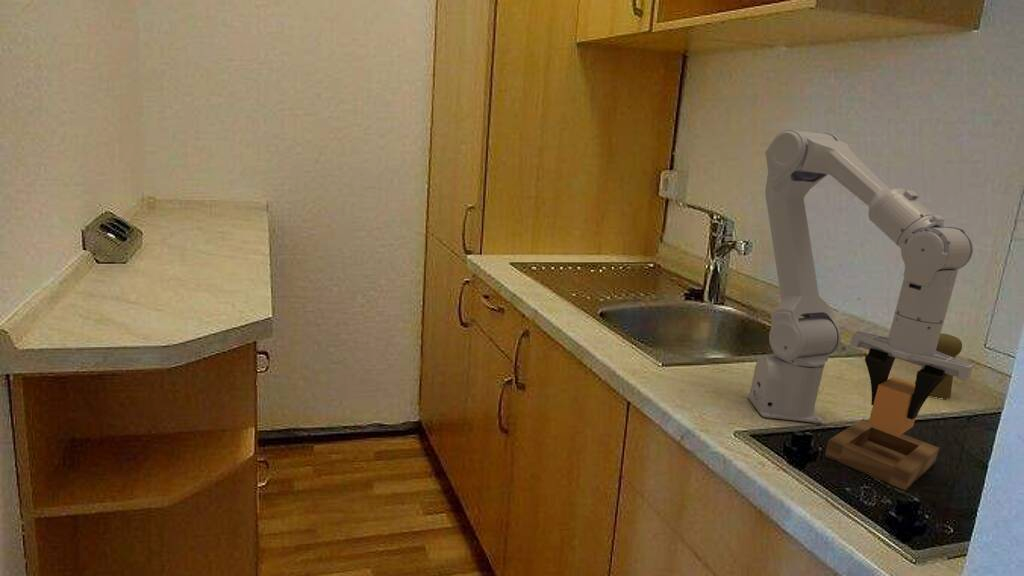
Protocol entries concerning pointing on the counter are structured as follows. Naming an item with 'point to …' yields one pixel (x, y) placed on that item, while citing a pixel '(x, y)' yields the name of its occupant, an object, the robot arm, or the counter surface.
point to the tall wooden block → (893, 406)
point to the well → (882, 454)
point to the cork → (951, 348)
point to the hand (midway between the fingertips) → (893, 410)
